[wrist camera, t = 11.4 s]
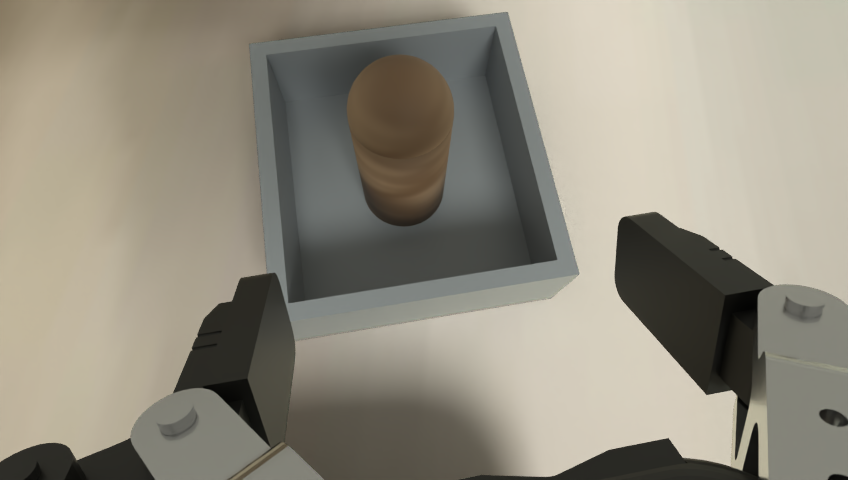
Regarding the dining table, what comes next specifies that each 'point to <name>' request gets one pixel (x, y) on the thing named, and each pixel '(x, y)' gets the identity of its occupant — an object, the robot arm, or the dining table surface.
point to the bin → (462, 197)
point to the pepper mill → (401, 137)
